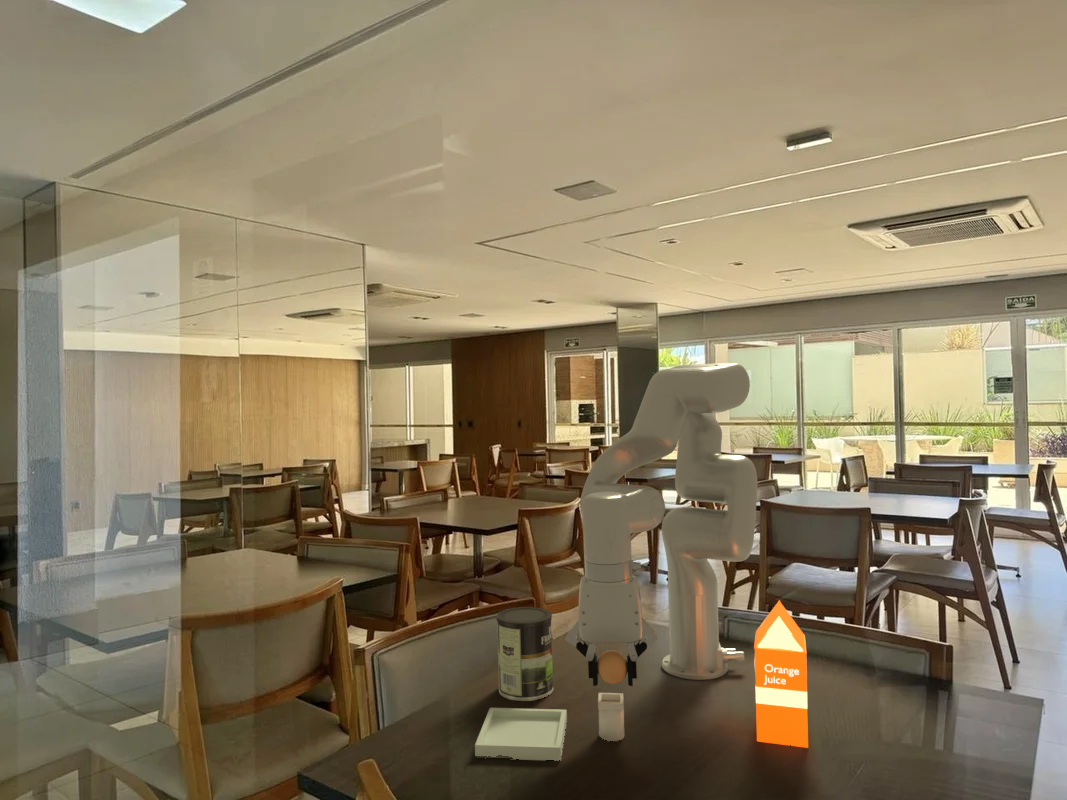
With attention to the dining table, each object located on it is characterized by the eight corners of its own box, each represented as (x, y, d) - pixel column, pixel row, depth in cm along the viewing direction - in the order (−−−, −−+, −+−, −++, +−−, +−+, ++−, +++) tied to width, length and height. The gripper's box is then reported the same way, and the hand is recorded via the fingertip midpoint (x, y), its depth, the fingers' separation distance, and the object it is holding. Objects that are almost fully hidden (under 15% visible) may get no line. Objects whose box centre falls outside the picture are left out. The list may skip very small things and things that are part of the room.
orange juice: (807, 722, 119) (804, 600, 118) (809, 748, 110) (806, 617, 110) (757, 717, 121) (754, 597, 121) (755, 741, 113) (752, 613, 113)
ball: (628, 675, 119) (627, 645, 118) (628, 689, 114) (627, 657, 113) (597, 675, 119) (596, 645, 119) (596, 688, 114) (595, 657, 114)
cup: (624, 730, 118) (623, 693, 118) (624, 741, 114) (623, 703, 114) (599, 729, 118) (598, 692, 118) (598, 741, 114) (597, 703, 114)
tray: (566, 721, 121) (566, 709, 121) (560, 760, 108) (560, 747, 108) (490, 719, 123) (489, 707, 123) (475, 758, 110) (474, 744, 110)
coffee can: (557, 680, 139) (556, 607, 138) (548, 703, 129) (546, 624, 128) (505, 677, 141) (503, 605, 141) (491, 700, 131) (489, 622, 130)
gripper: (660, 563, 119) (665, 673, 119) (557, 564, 120) (561, 672, 121) (663, 576, 111) (668, 693, 112) (553, 577, 113) (558, 692, 114)
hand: (612, 681), depth 116 cm, fingers closed on ball, 4 cm apart
